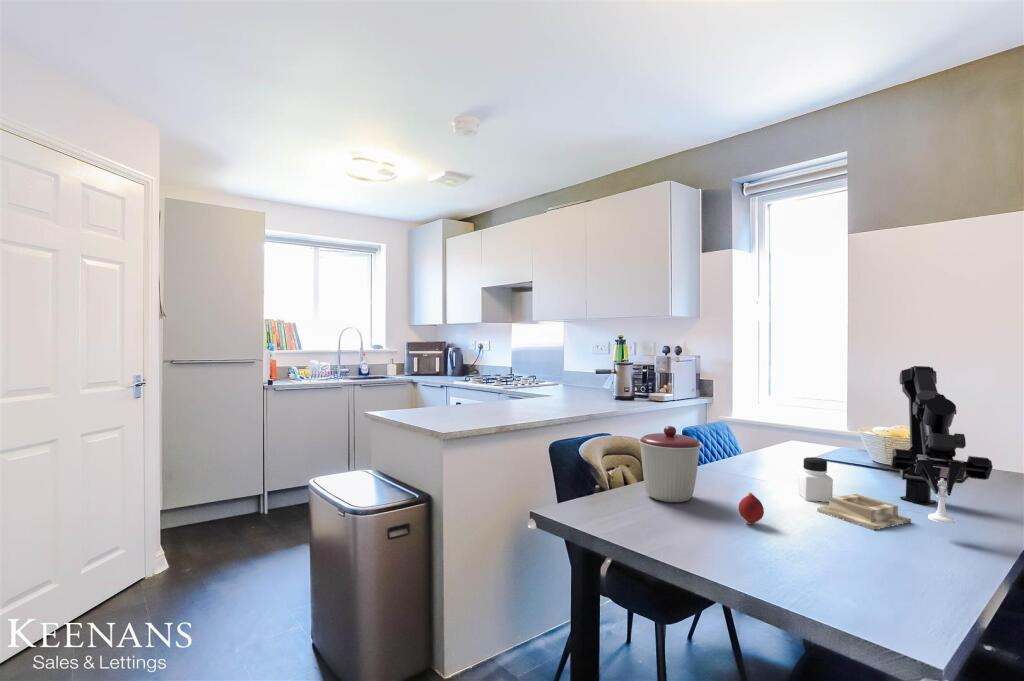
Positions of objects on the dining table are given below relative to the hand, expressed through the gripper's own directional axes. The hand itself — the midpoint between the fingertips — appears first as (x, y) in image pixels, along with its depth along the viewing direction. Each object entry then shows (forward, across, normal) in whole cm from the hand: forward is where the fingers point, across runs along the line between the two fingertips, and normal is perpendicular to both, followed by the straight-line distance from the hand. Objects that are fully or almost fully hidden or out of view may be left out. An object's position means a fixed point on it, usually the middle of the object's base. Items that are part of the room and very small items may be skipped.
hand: (943, 494), depth 122 cm
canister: (+10, -63, +6) cm, 64 cm away
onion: (+18, -40, -2) cm, 43 cm away
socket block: (+1, -15, +14) cm, 21 cm away
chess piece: (+4, 0, +6) cm, 7 cm away
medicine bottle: (-7, -26, +23) cm, 36 cm away
